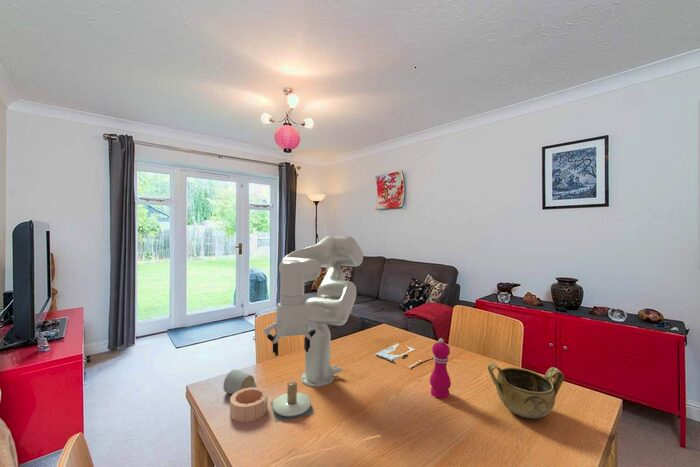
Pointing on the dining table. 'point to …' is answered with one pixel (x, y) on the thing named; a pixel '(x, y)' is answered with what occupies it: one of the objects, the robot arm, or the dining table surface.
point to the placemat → (281, 418)
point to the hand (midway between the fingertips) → (291, 352)
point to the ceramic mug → (238, 381)
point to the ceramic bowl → (527, 390)
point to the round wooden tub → (248, 404)
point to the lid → (291, 402)
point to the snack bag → (392, 357)
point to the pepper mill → (440, 370)
